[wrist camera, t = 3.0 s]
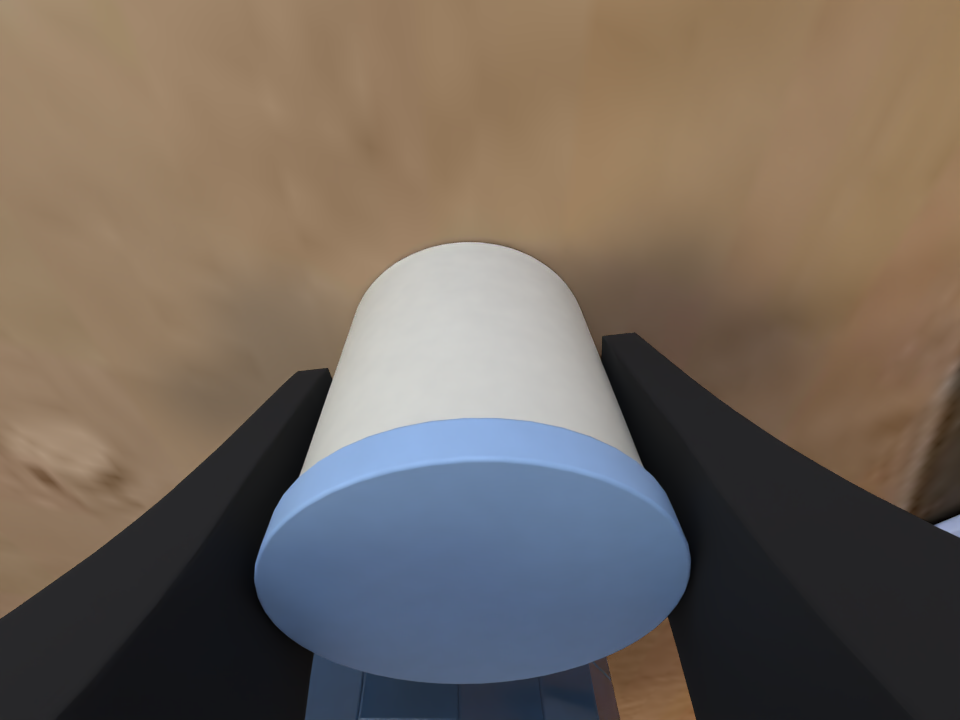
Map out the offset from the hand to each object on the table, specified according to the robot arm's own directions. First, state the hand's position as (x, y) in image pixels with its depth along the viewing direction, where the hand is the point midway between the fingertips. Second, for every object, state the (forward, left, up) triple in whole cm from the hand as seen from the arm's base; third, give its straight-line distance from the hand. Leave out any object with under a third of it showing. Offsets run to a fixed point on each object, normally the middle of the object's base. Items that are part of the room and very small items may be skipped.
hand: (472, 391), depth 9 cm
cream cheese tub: (0, 0, -1) cm, 1 cm away
